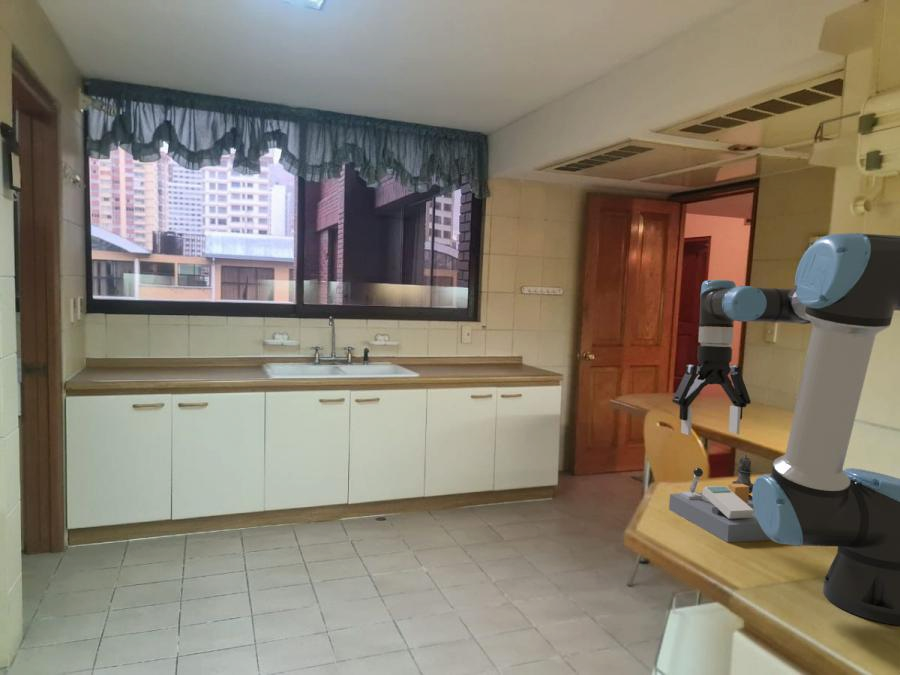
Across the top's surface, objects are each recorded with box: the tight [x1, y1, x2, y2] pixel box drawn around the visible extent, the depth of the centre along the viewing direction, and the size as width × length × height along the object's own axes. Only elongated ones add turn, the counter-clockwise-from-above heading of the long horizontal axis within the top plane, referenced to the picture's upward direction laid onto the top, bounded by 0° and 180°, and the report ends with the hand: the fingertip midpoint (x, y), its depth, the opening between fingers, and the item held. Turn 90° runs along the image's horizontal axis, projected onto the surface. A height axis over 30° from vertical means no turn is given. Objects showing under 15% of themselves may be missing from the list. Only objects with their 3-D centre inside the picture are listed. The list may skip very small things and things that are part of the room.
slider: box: [727, 484, 750, 503], centre depth 148 cm, size 2×4×4 cm, turn 103°
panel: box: [668, 491, 772, 543], centre depth 146 cm, size 22×18×6 cm
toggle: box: [689, 467, 704, 493], centre depth 151 cm, size 2×2×7 cm
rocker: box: [701, 485, 754, 519], centre depth 141 cm, size 10×6×2 cm, turn 13°
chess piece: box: [732, 454, 754, 501], centre depth 167 cm, size 6×6×12 cm
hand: (710, 433), depth 144 cm, fingers open, 13 cm apart
